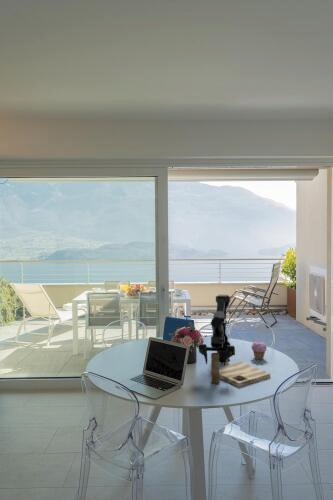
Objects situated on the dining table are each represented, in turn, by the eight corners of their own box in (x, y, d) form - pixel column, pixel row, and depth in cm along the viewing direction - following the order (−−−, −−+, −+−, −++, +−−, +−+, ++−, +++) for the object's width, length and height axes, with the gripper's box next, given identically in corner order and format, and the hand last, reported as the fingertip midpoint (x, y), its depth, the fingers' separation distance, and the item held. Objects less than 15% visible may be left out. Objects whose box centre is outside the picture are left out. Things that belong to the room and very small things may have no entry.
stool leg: (209, 382, 207) (209, 353, 206) (215, 380, 209) (215, 352, 208) (214, 385, 204) (214, 355, 203) (221, 383, 206) (220, 354, 205)
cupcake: (249, 356, 246) (249, 339, 246) (263, 355, 247) (263, 339, 246) (254, 361, 237) (253, 344, 237) (268, 360, 238) (268, 343, 237)
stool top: (210, 373, 219) (210, 370, 219) (241, 365, 231) (240, 361, 231) (239, 387, 200) (239, 383, 200) (270, 377, 212) (270, 373, 212)
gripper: (198, 328, 213) (195, 356, 203) (234, 330, 208) (232, 358, 198) (201, 339, 221) (198, 366, 211) (235, 341, 216) (234, 368, 206)
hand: (215, 364), depth 206 cm, fingers open, 9 cm apart
